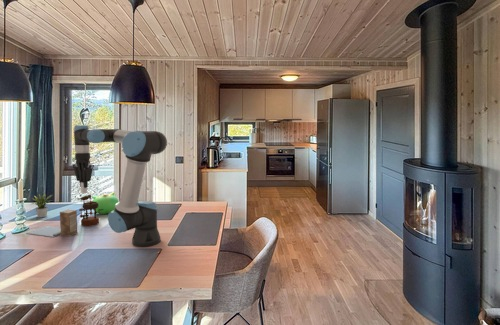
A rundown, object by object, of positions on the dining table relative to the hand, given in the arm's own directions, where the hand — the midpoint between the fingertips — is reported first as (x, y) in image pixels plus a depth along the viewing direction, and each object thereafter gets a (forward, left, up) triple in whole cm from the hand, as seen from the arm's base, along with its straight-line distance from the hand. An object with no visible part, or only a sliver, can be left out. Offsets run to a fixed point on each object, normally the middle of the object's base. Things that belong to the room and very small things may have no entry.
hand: (84, 193), depth 176 cm
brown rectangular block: (+12, 0, -26) cm, 28 cm away
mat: (+25, 0, -26) cm, 36 cm away
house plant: (+56, -22, -26) cm, 65 cm away
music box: (+14, -20, -26) cm, 36 cm away
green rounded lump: (+22, -43, -26) cm, 55 cm away
